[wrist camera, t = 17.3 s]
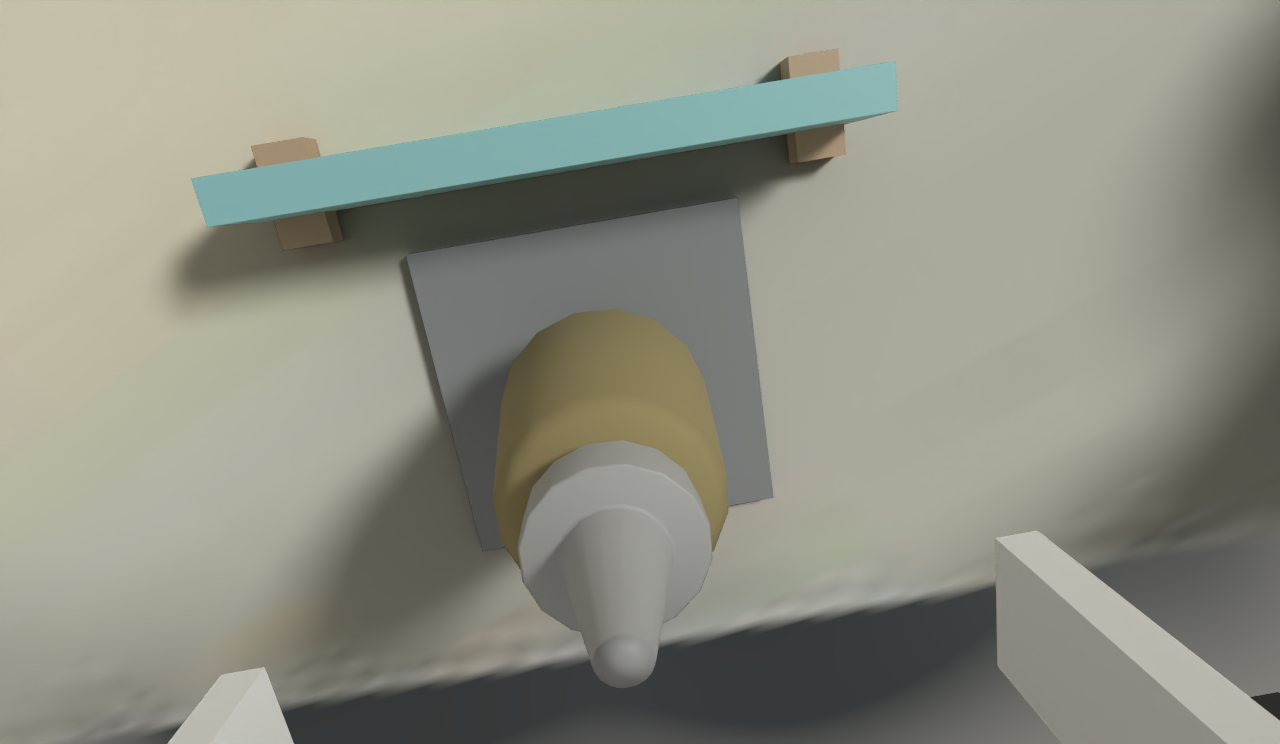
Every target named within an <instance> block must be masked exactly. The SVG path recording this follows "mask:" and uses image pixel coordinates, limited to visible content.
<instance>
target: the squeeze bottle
mask: <svg viewBox="0 0 1280 744" xmlns="http://www.w3.org/2000/svg"><path fill="white" fill-rule="evenodd" d="M493 501H494V507H495V513H496V519H497V525H498V531H499V537H500V540H501V541H502V543H503V544H504V546H505V547H506V549H507V550H508V552H509V553H510V555H511V556H512V558H513V559H514V561H515V562H516V564H517V565H518V567H519V568H520V570H521V575H522V581H523V583H524V584H525V586H526V587H527V589H528V590H529V592H530V593H531V595H532V596H533V598H534V599H535V601H536V602H537V604H538V605H539V607H540V608H541V610H542V611H544V612H545V613H547V614H548V615H550V616H551V617H553V618H554V619H556V620H558V621H559V622H561V623H562V624H564V625H565V626H567V627H568V628H570V629H571V630H575V631H580V632H581V634H582V637H583V640H584V643H585V646H586V649H587V652H588V655H589V658H590V661H591V664H592V667H593V670H594V672H595V673H596V674H597V676H598V678H599V679H600V680H601V681H603V682H604V683H606V684H608V685H609V686H613V687H618V688H626V687H633V686H636V685H637V684H640V683H642V682H644V681H645V680H646V679H647V678H648V677H649V675H650V674H651V673H652V672H653V669H654V666H655V663H656V658H657V652H658V646H659V640H660V635H661V629H662V623H664V622H666V621H668V620H670V619H672V618H674V617H676V616H677V615H678V614H679V613H680V612H681V611H682V610H683V609H684V608H685V607H686V606H687V605H688V603H689V602H690V601H691V600H692V599H693V598H694V597H695V596H696V595H697V594H698V593H699V592H700V590H701V588H702V585H703V582H704V580H705V577H706V574H707V572H708V569H709V566H710V564H711V561H712V552H713V551H714V549H715V546H716V543H717V540H718V538H719V535H720V532H721V530H722V527H723V524H724V522H725V519H726V516H727V514H728V498H727V482H726V469H725V464H724V460H723V456H722V452H721V448H720V443H719V439H718V435H717V431H716V427H715V422H714V418H713V414H712V410H711V405H710V401H709V397H708V393H707V389H706V384H705V380H704V378H703V376H702V374H701V373H700V371H699V369H698V367H697V365H696V363H695V361H694V359H693V357H692V355H691V353H690V351H689V349H688V348H687V346H686V345H685V344H684V343H682V342H681V341H680V340H679V339H678V338H676V337H675V336H674V335H673V334H671V333H670V332H669V331H668V330H667V329H665V328H664V327H663V326H662V325H660V324H659V323H658V322H657V321H655V320H652V319H649V318H645V317H642V316H639V315H635V314H632V313H628V312H625V311H622V310H618V309H608V310H598V311H589V312H579V313H573V314H571V315H569V316H567V317H565V318H564V319H562V320H560V321H558V322H556V323H554V324H552V325H551V326H549V327H547V328H545V329H543V330H541V331H539V332H537V333H536V335H535V336H534V337H533V338H532V340H531V341H530V342H529V343H528V345H527V346H526V347H525V348H524V350H523V351H522V352H521V353H520V355H519V356H518V357H517V358H516V359H515V361H514V362H513V363H512V365H511V368H510V372H509V376H508V379H507V383H506V387H505V390H504V394H503V398H502V402H501V411H500V422H499V433H498V444H497V456H496V467H495V478H494V489H493Z"/></svg>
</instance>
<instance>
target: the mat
mask: <svg viewBox="0 0 1280 744" xmlns="http://www.w3.org/2000/svg"><path fill="white" fill-rule="evenodd" d="M406 258H407V262H408V266H409V269H410V273H411V277H412V281H413V285H414V289H415V293H416V297H417V300H418V304H419V308H420V312H421V316H422V320H423V324H424V327H425V331H426V335H427V339H428V343H429V347H430V351H431V355H432V358H433V362H434V366H435V370H436V374H437V378H438V382H439V385H440V389H441V393H442V397H443V401H444V405H445V409H446V413H447V416H448V420H449V424H450V428H451V432H452V436H453V440H454V444H455V447H456V451H457V455H458V459H459V463H460V467H461V471H462V474H463V478H464V482H465V486H466V490H467V494H468V498H469V502H470V505H471V509H472V513H473V517H474V521H475V525H476V529H477V532H478V536H479V540H480V544H481V548H482V551H488V550H493V549H499V548H504V547H505V546H504V544H503V543H502V541H501V540H500V537H499V531H498V525H497V519H496V513H495V507H494V501H493V489H494V478H495V467H496V456H497V444H498V433H499V422H500V411H501V402H502V398H503V394H504V390H505V387H506V383H507V379H508V376H509V372H510V368H511V365H512V363H513V362H514V361H515V359H516V358H517V357H518V356H519V355H520V353H521V352H522V351H523V350H524V348H525V347H526V346H527V345H528V343H529V342H530V341H531V340H532V338H533V337H534V336H535V335H536V333H537V332H539V331H541V330H543V329H545V328H547V327H549V326H551V325H552V324H554V323H556V322H558V321H560V320H562V319H564V318H565V317H567V316H569V315H571V314H573V313H579V312H589V311H598V310H608V309H618V310H622V311H625V312H628V313H632V314H635V315H639V316H642V317H645V318H649V319H652V320H655V321H657V322H658V323H659V324H660V325H662V326H663V327H664V328H665V329H667V330H668V331H669V332H670V333H671V334H673V335H674V336H675V337H676V338H678V339H679V340H680V341H681V342H682V343H684V344H685V345H686V346H687V348H688V349H689V351H690V353H691V355H692V357H693V359H694V361H695V363H696V365H697V367H698V369H699V371H700V373H701V374H702V376H703V378H704V380H705V384H706V389H707V393H708V397H709V401H710V405H711V410H712V414H713V418H714V422H715V427H716V431H717V435H718V439H719V443H720V448H721V452H722V456H723V460H724V464H725V469H726V482H727V498H728V506H731V505H736V504H742V503H747V502H753V501H758V500H763V499H769V498H773V490H772V481H771V473H770V465H769V456H768V448H767V439H766V431H765V423H764V414H763V406H762V397H761V389H760V381H759V372H758V364H757V355H756V347H755V339H754V330H753V322H752V314H751V305H750V297H749V288H748V280H747V272H746V263H745V255H744V246H743V238H742V230H741V221H740V213H739V205H738V198H731V199H725V200H719V201H713V202H707V203H702V204H696V205H690V206H684V207H678V208H672V209H667V210H661V211H655V212H649V213H643V214H638V215H632V216H626V217H620V218H614V219H608V220H603V221H597V222H591V223H585V224H579V225H573V226H568V227H562V228H556V229H550V230H544V231H539V232H533V233H527V234H521V235H515V236H509V237H504V238H498V239H492V240H486V241H480V242H475V243H469V244H463V245H457V246H451V247H445V248H440V249H434V250H428V251H422V252H416V253H410V254H407V255H406Z"/></svg>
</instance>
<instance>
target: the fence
mask: <svg viewBox="0 0 1280 744" xmlns="http://www.w3.org/2000/svg"><path fill="white" fill-rule="evenodd" d="M780 72H781V80H778V81H772V82H766V83H760V84H754V85H748V86H742V87H736V88H730V89H725V90H719V91H713V92H707V93H701V94H695V95H689V96H683V97H677V98H671V99H665V100H659V101H653V102H647V103H641V104H635V105H629V106H623V107H617V108H611V109H605V110H599V111H593V112H587V113H581V114H575V115H569V116H563V117H557V118H551V119H545V120H539V121H533V122H527V123H521V124H515V125H509V126H503V127H497V128H491V129H485V130H479V131H473V132H467V133H461V134H455V135H449V136H443V137H437V138H431V139H425V140H419V141H413V142H407V143H401V144H395V145H389V146H383V147H377V148H371V149H365V150H359V151H353V152H347V153H341V154H335V155H329V156H323V157H320V154H319V150H318V147H317V143H316V140H314V139H309V138H304V137H302V138H296V139H290V140H284V141H278V142H272V143H266V144H260V145H254V146H251V148H252V152H253V155H254V158H255V161H256V165H257V168H251V169H245V170H239V171H233V172H227V173H221V174H215V175H209V176H203V177H197V178H191V180H192V183H193V186H194V189H195V192H196V195H197V198H198V201H199V204H200V207H201V210H202V213H203V216H204V219H205V222H206V225H207V227H215V226H226V225H237V224H248V223H259V222H270V221H274V223H275V226H276V229H277V233H278V236H279V239H280V242H281V246H282V249H283V251H284V250H289V249H295V248H301V247H307V246H313V245H319V244H325V243H330V242H336V241H341V240H344V239H343V235H342V232H341V228H340V225H339V221H338V218H337V214H336V211H337V210H343V209H349V208H355V207H361V206H366V205H372V204H378V203H384V202H390V201H396V200H402V199H408V198H414V197H420V196H426V195H431V194H437V193H443V192H449V191H455V190H461V189H467V188H473V187H479V186H485V185H490V184H496V183H502V182H508V181H514V180H520V179H526V178H532V177H538V176H544V175H550V174H555V173H561V172H567V171H573V170H579V169H585V168H591V167H597V166H603V165H609V164H614V163H620V162H626V161H632V160H638V159H644V158H650V157H656V156H662V155H668V154H674V153H679V152H685V151H691V150H697V149H703V148H709V147H715V146H721V145H727V144H733V143H738V142H744V141H750V140H756V139H762V138H768V137H774V136H780V135H786V134H787V144H788V154H789V164H792V163H799V162H805V161H811V160H817V159H823V158H828V157H834V156H840V155H846V149H845V136H844V125H845V124H849V123H852V122H856V121H860V120H864V119H867V118H871V117H875V116H879V115H883V114H886V113H890V112H894V111H898V100H897V81H896V62H895V61H892V62H886V63H880V64H874V65H868V66H862V67H856V68H850V69H844V70H840V68H839V55H838V49H832V50H826V51H820V52H814V53H808V54H802V55H796V56H790V57H787V58H786V59H784V60H783V61H781V62H780Z"/></svg>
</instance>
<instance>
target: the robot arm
mask: <svg viewBox="0 0 1280 744" xmlns="http://www.w3.org/2000/svg"><path fill="white" fill-rule="evenodd" d="M995 552H996V606H997V607H996V609H997V662H998V663H997V665H998V667H999V669H1000V670H1001V671H1002V672H1003V673H1004V675H1005V676H1006V677H1007V678H1008V679H1009V680H1010V682H1011V683H1012V684H1013V686H1014V687H1015V688H1016V689H1017V690H1018V691H1019V693H1020V694H1021V695H1022V696H1023V697H1024V699H1025V700H1026V701H1027V702H1028V704H1029V705H1030V706H1031V707H1032V708H1033V710H1034V711H1035V712H1036V713H1037V714H1038V716H1039V717H1040V718H1041V719H1042V720H1043V722H1044V723H1045V724H1046V725H1047V727H1048V728H1049V729H1050V730H1051V731H1052V733H1053V734H1054V735H1055V736H1056V737H1057V739H1058V740H1059V741H1060V742H1061V743H1062V744H1280V693H1278V692H1276V693H1271V694H1265V695H1260V696H1254V697H1249V696H1248V695H1246V694H1245V693H1244V692H1242V691H1241V690H1240V689H1239V688H1237V687H1236V686H1235V685H1234V684H1232V683H1231V682H1230V681H1229V680H1227V679H1226V678H1225V677H1223V676H1222V675H1221V674H1220V673H1218V672H1217V671H1216V670H1214V669H1213V668H1212V667H1211V666H1209V665H1208V664H1207V663H1206V662H1204V661H1203V660H1202V659H1200V658H1199V657H1198V656H1197V655H1195V654H1194V653H1193V652H1192V651H1190V650H1189V649H1187V648H1186V647H1185V646H1184V645H1183V644H1181V643H1180V642H1179V641H1177V640H1176V639H1175V638H1174V637H1172V636H1171V635H1170V634H1169V633H1167V632H1166V631H1165V630H1163V629H1162V628H1161V627H1160V626H1158V625H1157V624H1156V623H1155V622H1153V621H1152V620H1151V619H1149V618H1148V617H1147V616H1146V615H1144V614H1143V613H1142V612H1141V611H1139V610H1138V609H1137V608H1135V607H1134V606H1133V605H1132V604H1130V603H1129V602H1128V601H1127V600H1125V599H1124V598H1123V597H1121V596H1120V595H1119V594H1118V593H1116V592H1115V591H1114V590H1113V589H1111V588H1110V587H1109V586H1107V585H1106V584H1105V583H1104V582H1102V581H1101V580H1100V579H1098V578H1097V577H1096V576H1095V575H1093V574H1092V573H1091V572H1090V571H1088V570H1087V569H1086V568H1084V567H1083V566H1082V565H1081V564H1079V563H1078V562H1077V561H1076V560H1074V559H1073V558H1072V557H1070V556H1069V555H1068V554H1067V553H1065V552H1064V551H1063V550H1062V549H1060V548H1059V547H1058V546H1056V545H1055V544H1054V543H1053V542H1051V541H1050V540H1049V539H1048V538H1046V537H1045V536H1044V535H1042V534H1041V533H1040V532H1039V531H1032V532H1026V533H1021V534H1015V535H1009V536H1004V537H998V538H995ZM168 744H294V743H293V741H292V738H291V735H290V733H289V730H288V727H287V725H286V722H285V719H284V717H283V714H282V711H281V709H280V706H279V704H278V701H277V698H276V696H275V693H274V691H273V688H272V685H271V683H270V680H269V677H268V675H267V672H266V670H265V667H262V668H256V669H251V670H245V671H239V672H234V673H228V674H222V675H221V676H220V677H219V678H218V680H217V681H216V682H215V683H214V685H213V686H212V687H211V689H210V690H209V691H208V692H207V694H206V695H205V696H204V697H203V699H202V700H201V701H200V703H199V704H198V705H197V706H196V708H195V709H194V710H193V712H192V713H191V714H190V715H189V717H188V718H187V719H186V720H185V722H184V723H183V724H182V726H181V727H180V728H179V729H178V731H177V732H176V733H175V735H174V736H173V737H172V738H171V740H170V741H169V742H168Z"/></svg>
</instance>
